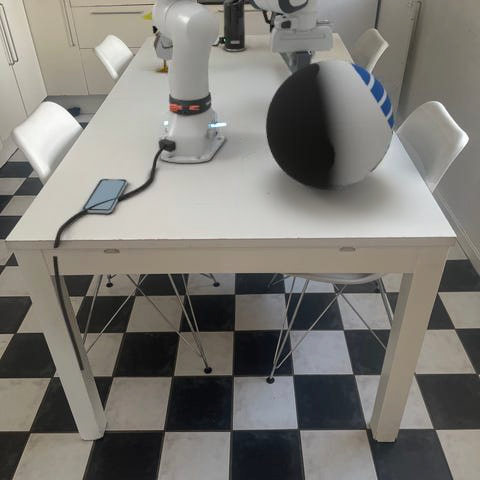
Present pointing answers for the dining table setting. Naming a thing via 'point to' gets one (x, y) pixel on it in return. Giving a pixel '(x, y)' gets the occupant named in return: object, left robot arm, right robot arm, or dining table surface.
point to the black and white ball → (329, 124)
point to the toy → (161, 45)
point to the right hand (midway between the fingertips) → (278, 33)
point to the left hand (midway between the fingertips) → (300, 65)
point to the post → (297, 60)
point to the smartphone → (105, 195)
